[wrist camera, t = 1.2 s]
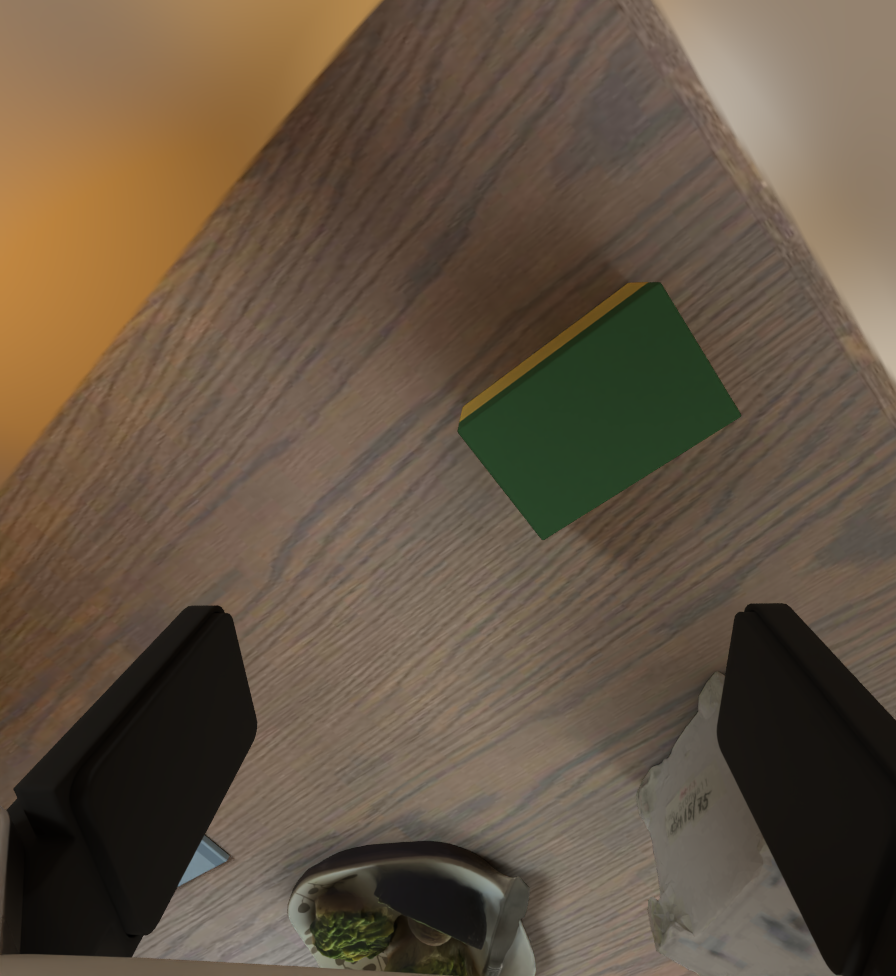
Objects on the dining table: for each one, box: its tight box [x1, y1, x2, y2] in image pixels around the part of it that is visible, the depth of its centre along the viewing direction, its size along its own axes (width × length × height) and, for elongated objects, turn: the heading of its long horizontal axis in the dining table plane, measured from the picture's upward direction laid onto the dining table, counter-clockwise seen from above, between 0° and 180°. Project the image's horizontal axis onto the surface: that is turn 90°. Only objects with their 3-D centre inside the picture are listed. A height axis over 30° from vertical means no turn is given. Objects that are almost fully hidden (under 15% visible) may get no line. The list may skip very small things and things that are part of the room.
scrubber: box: [458, 282, 741, 540], centre depth 22 cm, size 9×6×4 cm, turn 128°
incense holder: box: [636, 672, 842, 976], centre depth 26 cm, size 10×8×10 cm
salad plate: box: [287, 841, 536, 976], centre depth 37 cm, size 19×18×5 cm
